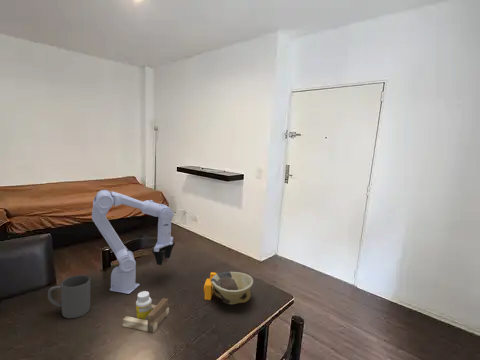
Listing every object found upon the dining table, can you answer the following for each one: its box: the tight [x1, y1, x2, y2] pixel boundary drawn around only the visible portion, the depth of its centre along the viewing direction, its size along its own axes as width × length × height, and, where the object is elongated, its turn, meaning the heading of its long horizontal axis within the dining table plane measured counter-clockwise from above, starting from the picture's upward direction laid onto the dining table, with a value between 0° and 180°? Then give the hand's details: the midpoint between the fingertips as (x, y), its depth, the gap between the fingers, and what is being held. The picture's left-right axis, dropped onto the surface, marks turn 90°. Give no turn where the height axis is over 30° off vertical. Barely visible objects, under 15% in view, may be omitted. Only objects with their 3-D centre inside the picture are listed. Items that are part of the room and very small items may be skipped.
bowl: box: [211, 271, 254, 305], centre depth 115 cm, size 18×18×10 cm
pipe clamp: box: [203, 271, 218, 301], centre depth 120 cm, size 12×4×6 cm, turn 174°
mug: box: [47, 274, 91, 319], centre depth 100 cm, size 14×9×12 cm
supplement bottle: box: [135, 290, 153, 320], centre depth 99 cm, size 5×5×10 cm
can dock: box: [122, 297, 170, 334], centre depth 99 cm, size 12×11×6 cm
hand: (163, 261), depth 125 cm, fingers open, 7 cm apart
